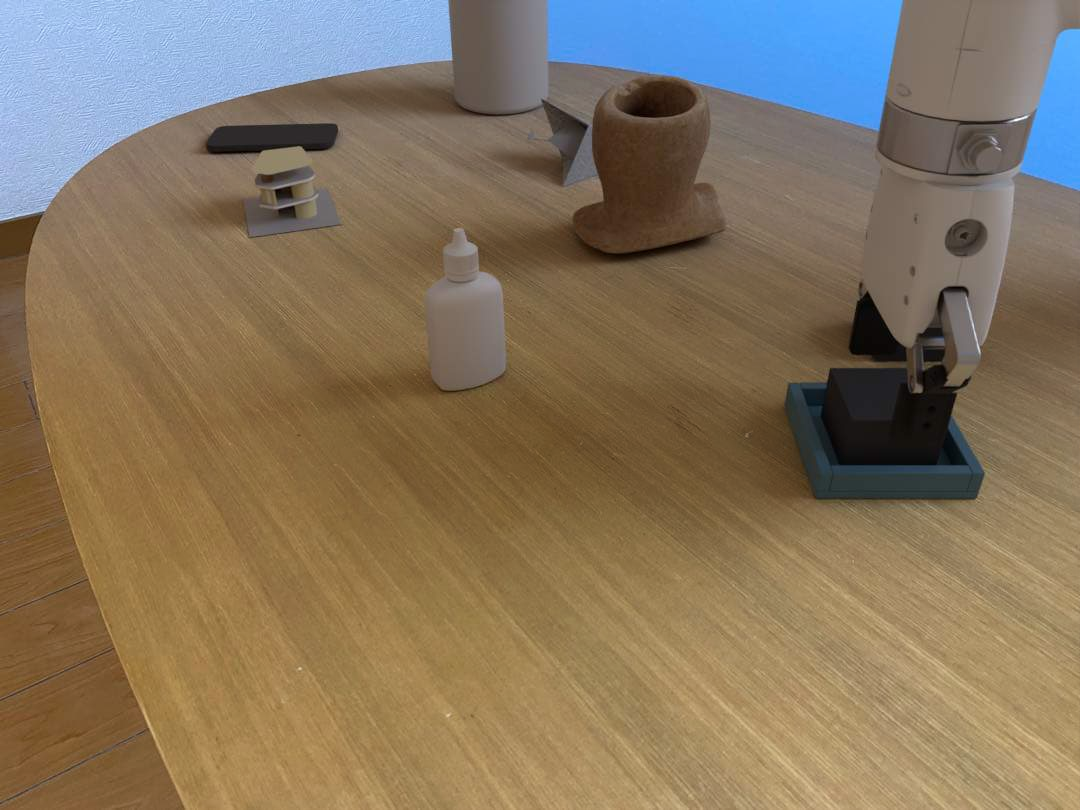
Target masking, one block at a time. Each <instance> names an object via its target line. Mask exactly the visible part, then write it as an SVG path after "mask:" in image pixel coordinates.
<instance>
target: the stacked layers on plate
mask: <svg viewBox="0 0 1080 810" xmlns="http://www.w3.org/2000/svg"><path fill="white" fill-rule="evenodd" d="M313 162H314V161H313V159H312V157H311V156H310V155H309V154H308V152H306V150H305V149H303V148H302V147H301V146H298V147H290V148H282V149H273V150H261V152H260V154H259V155H258V156H257V158H256V160H255V162H254V164H253V165H252V166H251V169H252V170H251V171H252V173H254V174H257V175H256V177H255V178H254V183H255V188H257V189H259V190H260V195H259V196H258V197H250V198H243V199H242V203H243V207H244V214H245V218H246V225H247V231H248V236H249V237H248V238H255V237H262V236H269V235H270V236H271V235H276V234H283V233H290V232H291V233H292V232H298V231H304V230H312V229H319V228H325V227H332V226H333V227H334V226H340V225H342V223H341V220H340V217H339V214H338V212H337V210H336V206H335V203H334V201H333V199H332V196H331V193H330V191H329V188H327V187H326V188H325V187H324V188H318V189H317V188H316V187H315V186H314V184H313V180H314V178H316V173H315V171H314V170H313V168H311V166H310V165H312V164H313Z"/></svg>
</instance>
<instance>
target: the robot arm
mask: <svg viewBox="0 0 1080 810" xmlns="http://www.w3.org/2000/svg"><path fill="white" fill-rule="evenodd" d="M901 2H902V4H901V7H900V13H899V19H898V24H897V30H896V35H895V41H894V46H893V51H892V56H891V63H890V66H889V67H890V68H889V73H888V78H887V84H886V90H885V95H884V100H883V105H882V111H881V117H880V123H879V128H878V132H877V139H876V142H875V143H876V144H875V150H874V157H875V159H876V160H877V162H878V163H879V164H880V165H881V167H880V171H879V175H878V178H877V183H876V187H875V190H874V194H873V199H872V203H871V206H870V207H871V208H870V211H869V216H868V221H867V225H866V230H865V235H864V236H865V237H864V241H863V248H862V256H861V266H860V268H861V269H860V271H861V277H862V278H861V280H860V281H859V283H858V287H857V295H858V298H859V299H866V300H864V301H859V300H856V305H855V309H854V315H853V321H852V327H851V330H850V336H849V341H848V347H847V349H848V350H849V353H850V354H851V355H852V356H872V355H893V354H895V353H896V352H897V350H898V345H899V343H900V344H902V345H903V346H905V347H906V356H907V361H906V368H907V380H908V383H900V387H899V391H898V395H897V400H896V404H895V408H894V413H893V417H892V421H891V425H890V430H889V436H890V438H891V440H892V441H893V442H895V443H915V442H940V441H942V440H944V438H945V436H946V432H947V429H948V425H949V422H950V418H951V415H952V414H953V412H954V411H953V410H954V407H955V404H956V401H957V396H958V394H961V393H962V392H963V390H964V388H965V387H967V386H968V385H969V382H970V381H971V379H972V375H973V373H975V371H976V370H977V368H978V367H979V366H980V364H981V360H982V354H981V348H980V347H981V346H982V345H983V344H984V343H985V341H986V340H987V337H988V334H989V330H990V327H991V323H992V319H993V315H994V312H995V311H994V310H995V308H996V304H997V303H996V302H997V299H998V294H999V289H1000V285H1001V281H1002V276H1003V272H1004V267H1005V262H1006V257H1007V251H1008V246H1009V240H1010V233H1011V227H1012V219H1013V218H1012V217H1013V211H1014V210H1013V209H1014V199H1015V185H1016V184H1015V181H1014V179H1013V178H1014V177H1015V176H1016V175H1018V174H1019V173H1020V171H1021V169H1022V166H1023V162H1024V157H1025V153H1026V149H1027V147H1028V142H1029V139H1030V137H1031V136H1030V135H1031V132H1032V129H1033V124H1034V121H1035V118H1036V115H1037V110H1038V108H1039V105H1040V104H1039V103H1040V101H1041V97H1042V93H1043V89H1044V87H1045V83H1046V79H1047V77H1048V72H1049V67H1050V65H1051V61H1052V57H1053V54H1054V50H1055V46H1056V43H1057V39H1058V37H1059V36H1060V35H1061V34H1062V33H1063V32H1064V31H1067V30H1080V0H902V1H901ZM926 328H941V329H942V333H943V336H933V337H920V335H919V333H923V332H924V331H925V330H926ZM924 349H945V355H944V357H943V359H942V361H941V364H934V365H933V366H930V367H929V368H927V369H925V368H924V367H925V365H924V361H923V350H924Z"/></svg>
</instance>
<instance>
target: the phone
mask: <svg viewBox="0 0 1080 810" xmlns="http://www.w3.org/2000/svg"><path fill="white" fill-rule="evenodd" d="M338 133H339V125H338V124H336V123H331V122H327V123H325V122H323V123H322V122H321V123H284V124H283V123H281V124H245V125H244V124H243V125H241V124H240V125H221V126H217V127H216V128H215V129H214V130H213V131H212V133H211V135H210V136H209V137H208V139H207V141H205V148H206V150H207V151H208V152H214V153H216V152H217V153H218V152H249V151H250V152H253V151H254V152H255V151H257V152H258V151H265V150H273V149H282V148H290V147H298V146H301V147H302V148H303V149H304V150H325V149H330V148H332V147H334V144H335V142H336V139H337V136H338Z"/></svg>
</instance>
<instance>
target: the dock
mask: <svg viewBox="0 0 1080 810" xmlns="http://www.w3.org/2000/svg"><path fill="white" fill-rule="evenodd" d="M826 386H827V382H826V381H825V382H824V381H820V382H817V381H813V382H811V381H808V382H806V381H805V382H802V381H801V382H787V388H786V395H785V401H784V405H783V406H784V409H785V413H786V416H787V419H788V421H789V424H790V427H791V430H792V434H793V436H794V439H795V442H796V445H797V449H798V451H799V454H800V457H801V460H802V463H803V466H804V469H805V473H806V475H807V478H808V481H809V483H810V487H811V489H812V493H813V496H814V499H869V500H870V499H876V500H877V499H883V500H885V499H891V500H893V499H897V500H898V499H913V500H914V499H921V500H922V499H925V500H927V499H928V500H929V499H932V500H933V499H934V500H935V499H937V500H938V499H939V500H941V499H942V500H943V499H945V500H946V499H949V500H950V499H954V500H958V499H960V500H961V499H969V500H971V499H975V500H976V499H977V498H978V496H979V493H980V490H981V487H982V484H983V481H984V479H985V475H986V472H985V470H984V469H983V467H982V465H981V464H980V461H979V460H978V457H976V455H975V454H974V451H973V450H972V448H971V446H970V444H969V443H968V441H967V440H966V438H965V436H964V434H963V433H962V430H961V429H960V427H959V426H958V424H957V422H956V421H955V419H954V417H953V415H952V414H951V418H950V422H949V425H948V429H947V432H946V436H945V439H944V442H943V446H942V449H941V452H940V456H939V459H938V463H937V465H839V462H838V460H837V457H836V454H835V452H834V449H833V447H832V444H831V441H830V439H829V436H828V434H827V431H826V428H825V426H824V423H823V421H822V418H821V411H822V406H823V401H824V396H825V391H826Z"/></svg>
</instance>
